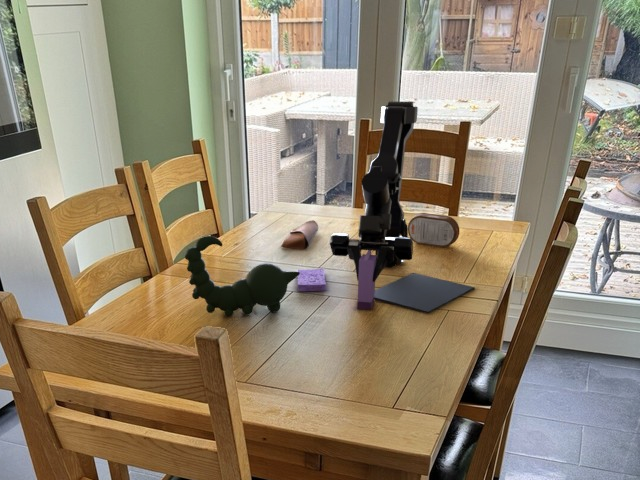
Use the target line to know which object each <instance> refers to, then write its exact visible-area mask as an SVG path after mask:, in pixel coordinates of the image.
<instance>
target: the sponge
mask: <svg viewBox="0 0 640 480" xmlns="http://www.w3.org/2000/svg"><path fill="white" fill-rule="evenodd" d="M297 272H300V274H299V275H298V276H297V291H299V292H325V291H326V287H327V286H326V284H327V283H326V275H325V274H326V273H325V268H313V269H297Z"/></svg>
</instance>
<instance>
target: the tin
mask: <svg viewBox="0 0 640 480" xmlns="http://www.w3.org/2000/svg"><path fill="white" fill-rule="evenodd" d="M407 227H408V236H409V237H410V238H411V239H412V240H413V243H416V244H418V245H424V246H425V245H426V246H430V247H431V246H432V247H438V248H447V247H450V246H451V245H453V244H454V243H455V242H456V241H457V240H458V239H459V236H460V226H459V224H458V222H457V220H456V219H454V218H453V217H452V216H449V215H441V214H435V213H429V212H419V213H416V214H415V215H414V216H413V217H412V218H411V219H409V222H408V224H407Z"/></svg>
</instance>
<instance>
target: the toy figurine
mask: <svg viewBox="0 0 640 480" xmlns="http://www.w3.org/2000/svg"><path fill="white" fill-rule="evenodd" d="M212 245H215V246H219V247H223V242H222V241H221V240H220V239H219V238H217V237H216V236H213V235H205V236H202V237H200V238H199V239H197V241H196V244H195V246H191V247H189V248H188V249H187V250H186V251H185V255H184V258H185V260H186V261H188V262H187V267H186V270H187V272H188V273H191V274H190V279H189V281H188V282H189V285H191V286H195V287H194V288H193V290H192V294H191V296H192V298H193V299H194V300H198V299H200V298H201V299H204V301H205V303H206V304H207V305H206V307H205V308H206V309H205V310H206V312H207V313H210V314H212V313H214V312H215V311H216V309H219V310H221V311H222V312H223V314H224V316H226V317H227V318H228V317H229V318H230V317H232V316H233V315H234V312H236V311H238V309H239V310H240V309H241V311H242V313H243V314H244V315H249V316H250V315H251V314H252V313H253V311H254V307H255V306H256V305H258V306H261V307H267V310H268V311H269V312H270V313H277V312H279V311H280V309H281V301H282V300H283V298H284V297H285V295H286V293H287V291H288V285H289V284H290V283H291V282H292V281H294V280H295V279H296V278H298V275H299V274H300V272H298V271H293V270H292V271H288V270H287V271H286V270H283V269H282V268H280V267H279V266H278V265H276V264H274V263H270V262H264V263H260V264H258V265H255V266H254V267H253V268H251V269H250V271H248V273H249V274H248V273H247V274H248V276H247V278H246V277H245V278H246V279H245V278H240V279H238V280H236V281H235V282H234V283H233V284H224V285H222V286H220V285H217V284H215V282H214V280H212V279H211V276H210V273H209V271H208V270H207V269H206V261H205V260H204V259H203V258H202V256H203V255H202V252H203V251H205V250H206V249H207V248H208V247H210V246H212Z"/></svg>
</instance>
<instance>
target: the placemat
mask: <svg viewBox="0 0 640 480" xmlns="http://www.w3.org/2000/svg"><path fill="white" fill-rule="evenodd" d="M474 290H475V286H471V285H467V284H462V283H458V282H454V281H449V280H445V279H442V278H437V277H433V276H429V275H424V274H420V273H416V272H412V273H409V274H407V275H405V276H403V277H401V278H398V279H396V280H394V281H392V282H390V283H388V284H385V285H383V286H381V287H378V288H377V289H375V292H374V301H375V300H376V301H379V302H383V303H387V304H390V305H394V306H398V307H402V308H405V309H409V310H413V311H417V312H420V313H424V314H428V315H429V314H430V313H432V312H434V311H436V310H438V309H440V308H442V307H444V306H446V305H447V304H449V303H451V302H453V301H455V300H457V299H458V298H460V297H462V296H464V295H467V294H468V293H470V292H472V291H474Z"/></svg>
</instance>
